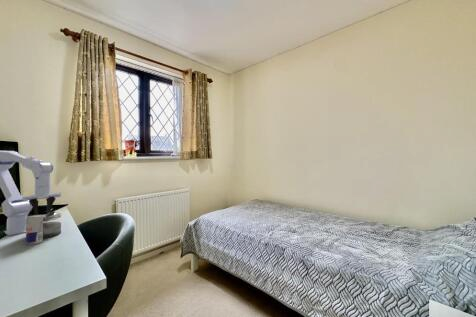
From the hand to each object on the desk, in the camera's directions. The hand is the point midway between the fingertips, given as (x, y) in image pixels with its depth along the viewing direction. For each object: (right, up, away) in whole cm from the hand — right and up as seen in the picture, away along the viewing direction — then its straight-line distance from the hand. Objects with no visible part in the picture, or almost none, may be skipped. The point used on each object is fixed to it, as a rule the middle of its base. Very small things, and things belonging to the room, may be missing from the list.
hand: (42, 213), depth 110 cm
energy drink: (+8, -10, -13) cm, 18 cm away
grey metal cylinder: (+3, -10, -2) cm, 11 cm away
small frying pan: (+4, -2, -3) cm, 5 cm away
